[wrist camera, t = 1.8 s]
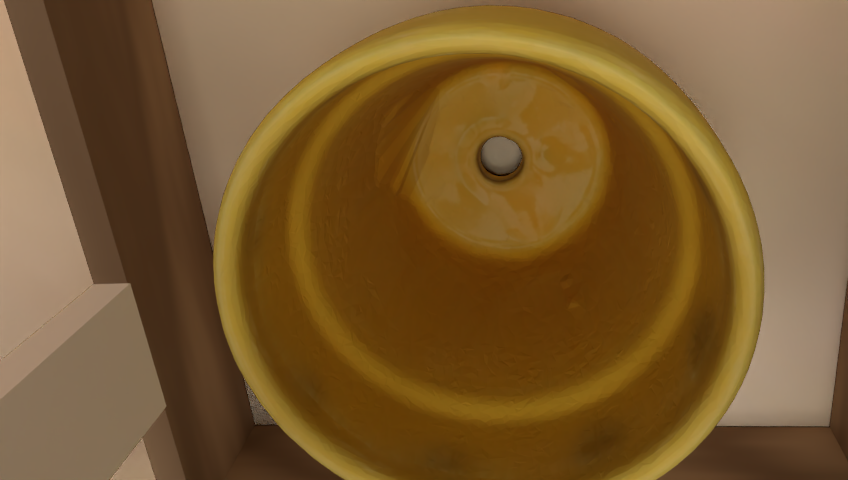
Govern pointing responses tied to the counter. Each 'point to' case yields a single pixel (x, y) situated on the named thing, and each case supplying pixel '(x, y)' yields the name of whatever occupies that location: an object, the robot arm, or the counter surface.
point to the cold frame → (193, 259)
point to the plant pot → (489, 257)
